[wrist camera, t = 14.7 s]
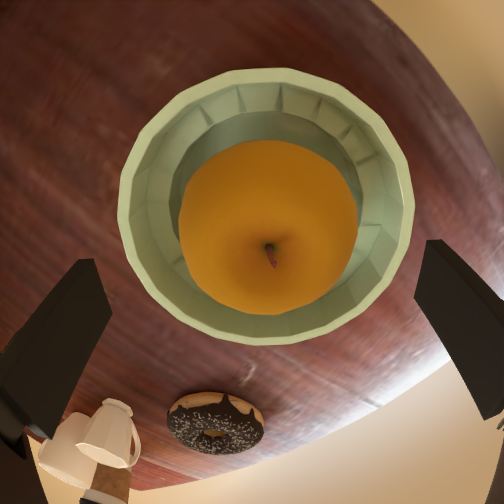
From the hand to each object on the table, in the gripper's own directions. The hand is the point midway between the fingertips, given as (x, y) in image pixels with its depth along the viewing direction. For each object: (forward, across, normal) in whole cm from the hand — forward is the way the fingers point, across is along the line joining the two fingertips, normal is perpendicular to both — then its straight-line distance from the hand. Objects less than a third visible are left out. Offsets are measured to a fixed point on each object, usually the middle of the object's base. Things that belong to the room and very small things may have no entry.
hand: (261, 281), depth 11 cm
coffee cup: (+11, +28, +44) cm, 53 cm away
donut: (+11, +6, +26) cm, 29 cm away
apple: (+10, 0, 0) cm, 10 cm away
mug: (+11, +30, +33) cm, 46 cm away
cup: (+11, +20, +28) cm, 36 cm away
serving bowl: (+10, 0, 0) cm, 10 cm away
